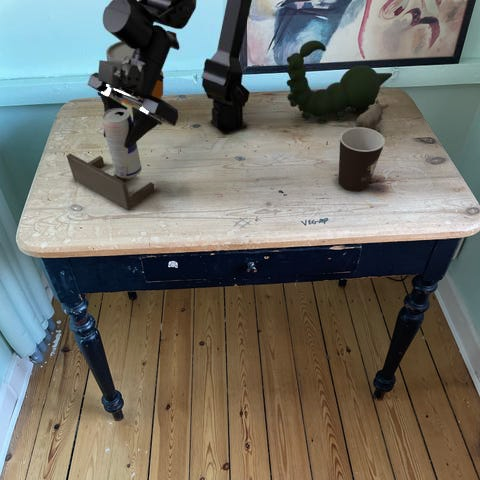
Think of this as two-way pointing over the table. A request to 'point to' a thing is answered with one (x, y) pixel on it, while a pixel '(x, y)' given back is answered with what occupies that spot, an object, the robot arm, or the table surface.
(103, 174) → the brown legged board
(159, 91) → the reusable coffee cup
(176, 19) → the robot arm
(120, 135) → the energy drink
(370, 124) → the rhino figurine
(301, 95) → the toy figurine
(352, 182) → the coffee mug
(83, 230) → the table surface
